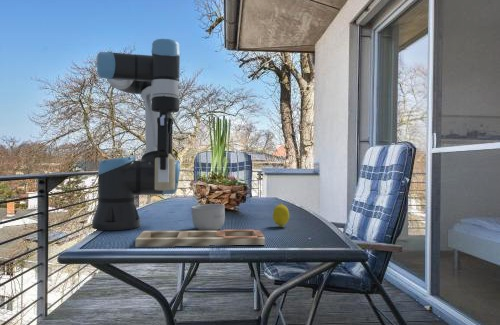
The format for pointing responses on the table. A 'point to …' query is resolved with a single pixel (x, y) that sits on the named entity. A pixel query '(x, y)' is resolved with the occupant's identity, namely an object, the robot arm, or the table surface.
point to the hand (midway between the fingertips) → (164, 181)
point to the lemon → (281, 215)
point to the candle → (171, 183)
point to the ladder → (199, 238)
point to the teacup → (208, 216)
